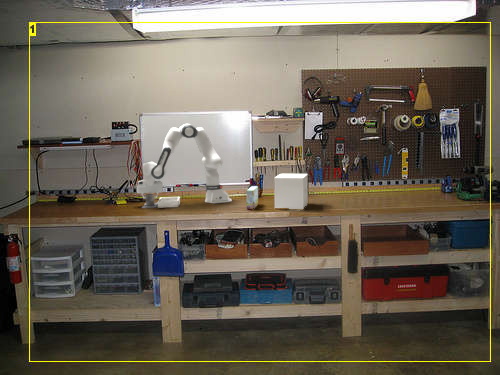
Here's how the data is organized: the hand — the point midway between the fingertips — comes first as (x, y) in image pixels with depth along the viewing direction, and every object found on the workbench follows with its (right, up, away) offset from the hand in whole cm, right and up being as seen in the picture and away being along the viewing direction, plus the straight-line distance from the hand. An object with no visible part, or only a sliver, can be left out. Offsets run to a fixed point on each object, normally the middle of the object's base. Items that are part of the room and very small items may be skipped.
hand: (150, 198), depth 302 cm
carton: (+15, -6, +2) cm, 16 cm away
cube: (+113, -7, -14) cm, 114 cm away
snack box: (+83, -7, -12) cm, 84 cm away
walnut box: (0, -5, +1) cm, 5 cm away
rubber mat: (0, -6, +1) cm, 6 cm away
